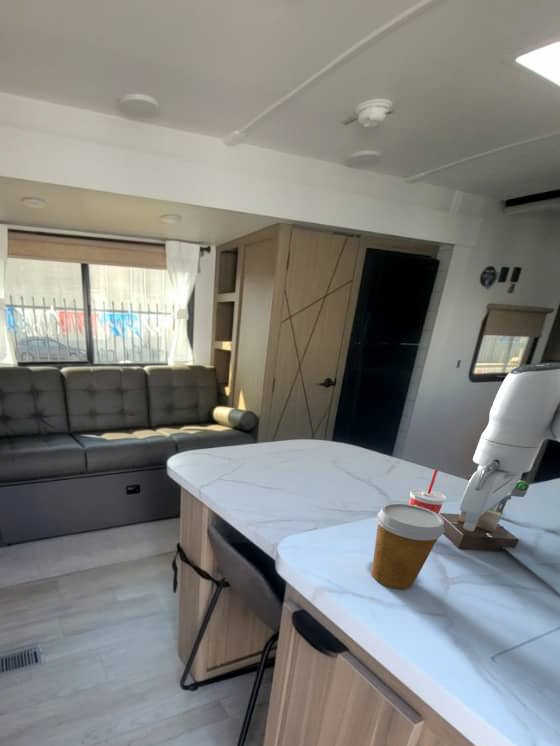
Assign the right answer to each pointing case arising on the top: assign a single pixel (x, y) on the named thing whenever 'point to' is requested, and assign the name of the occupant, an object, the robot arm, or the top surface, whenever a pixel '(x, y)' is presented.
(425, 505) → the beverage cup
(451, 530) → the brown square box
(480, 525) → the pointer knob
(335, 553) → the top surface
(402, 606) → the top surface
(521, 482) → the mechanical component
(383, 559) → the disposable coffee cup
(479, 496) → the robot arm
